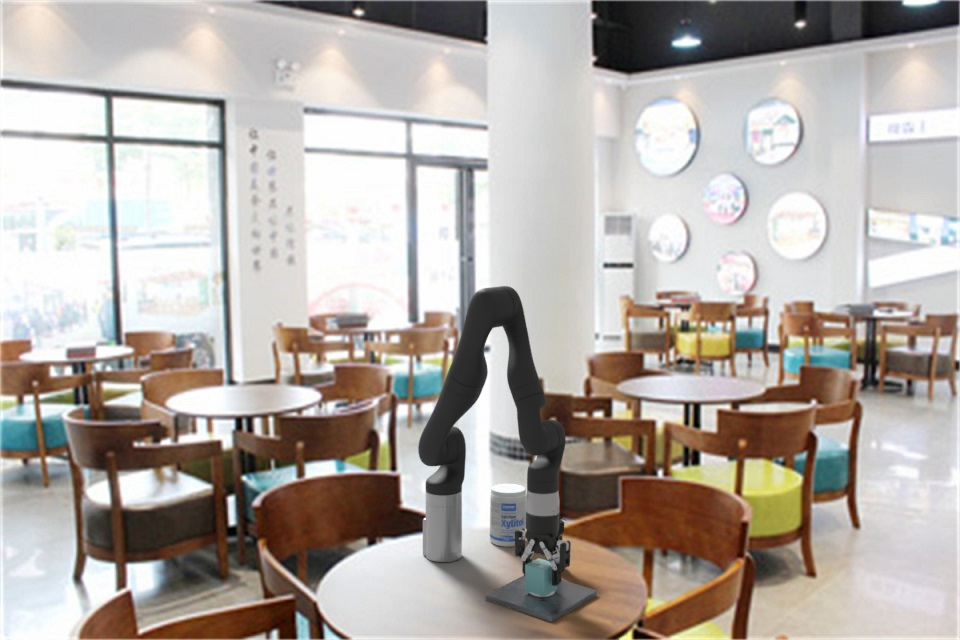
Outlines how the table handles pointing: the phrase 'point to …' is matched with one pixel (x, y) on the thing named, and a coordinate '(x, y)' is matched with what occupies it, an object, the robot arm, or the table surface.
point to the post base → (542, 599)
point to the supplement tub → (506, 513)
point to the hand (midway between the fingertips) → (541, 580)
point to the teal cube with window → (539, 577)
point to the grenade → (560, 530)
